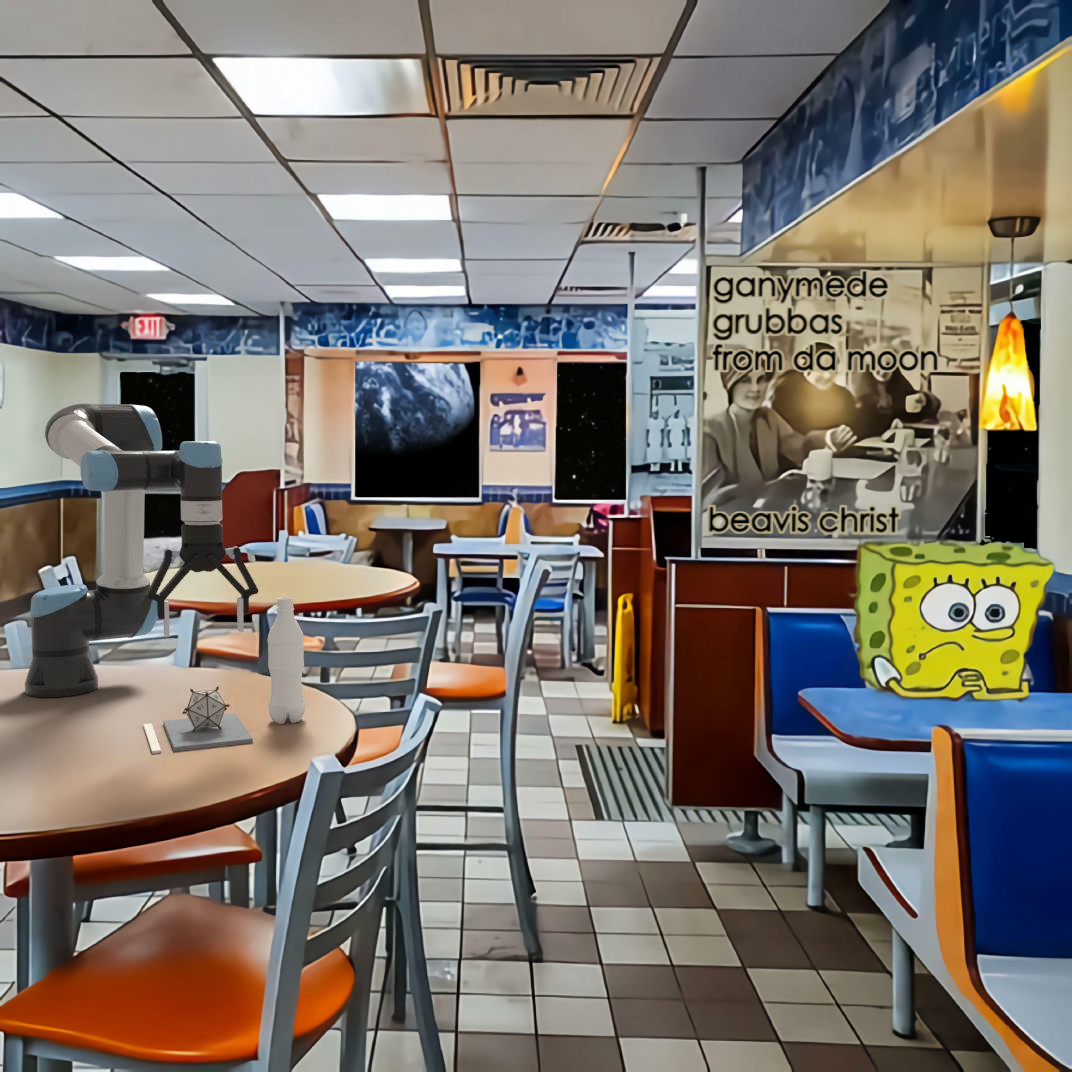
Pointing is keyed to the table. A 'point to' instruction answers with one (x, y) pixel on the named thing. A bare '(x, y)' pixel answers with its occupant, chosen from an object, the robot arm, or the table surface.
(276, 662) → the water bottle
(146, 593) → the robot arm
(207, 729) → the mat
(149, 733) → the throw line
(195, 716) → the game die
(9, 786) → the table surface
